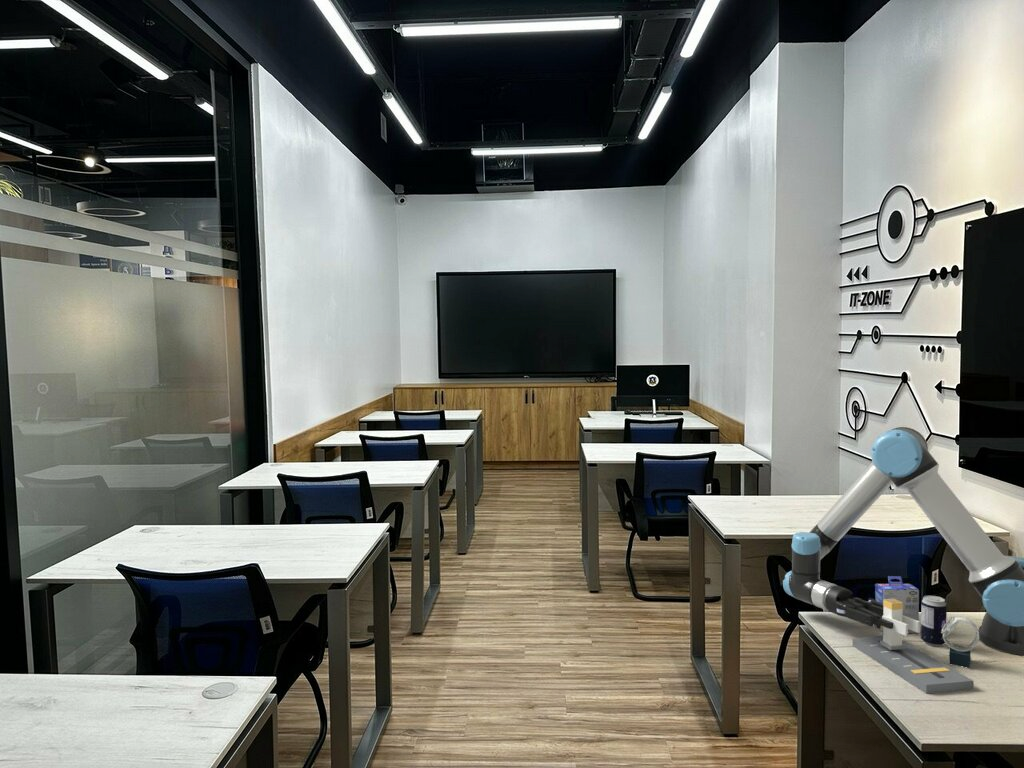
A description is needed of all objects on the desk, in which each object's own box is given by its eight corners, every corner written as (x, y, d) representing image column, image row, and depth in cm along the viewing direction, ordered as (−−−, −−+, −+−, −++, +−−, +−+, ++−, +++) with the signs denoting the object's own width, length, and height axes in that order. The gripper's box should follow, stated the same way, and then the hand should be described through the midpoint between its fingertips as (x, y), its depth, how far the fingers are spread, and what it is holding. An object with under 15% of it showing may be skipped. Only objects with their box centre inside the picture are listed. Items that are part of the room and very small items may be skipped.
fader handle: (893, 642, 177) (894, 597, 177) (905, 648, 173) (905, 603, 173) (879, 643, 177) (880, 598, 176) (890, 650, 173) (891, 604, 172)
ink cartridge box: (909, 625, 194) (910, 575, 194) (920, 633, 189) (921, 581, 188) (873, 625, 195) (874, 574, 194) (882, 633, 189) (883, 581, 189)
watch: (940, 654, 176) (941, 611, 175) (979, 661, 171) (980, 618, 171) (939, 662, 171) (940, 618, 171) (978, 670, 167) (979, 625, 166)
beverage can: (944, 649, 178) (945, 603, 178) (919, 644, 182) (920, 599, 181) (946, 642, 183) (947, 597, 183) (922, 637, 186) (923, 593, 186)
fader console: (893, 642, 183) (893, 634, 183) (973, 689, 157) (973, 680, 157) (852, 645, 181) (852, 637, 181) (926, 693, 155) (926, 684, 155)
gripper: (854, 607, 195) (935, 637, 173) (811, 616, 188) (889, 649, 166) (855, 581, 194) (935, 608, 173) (811, 589, 187) (889, 619, 166)
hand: (912, 628), depth 170 cm, fingers closed on fader handle, 4 cm apart
